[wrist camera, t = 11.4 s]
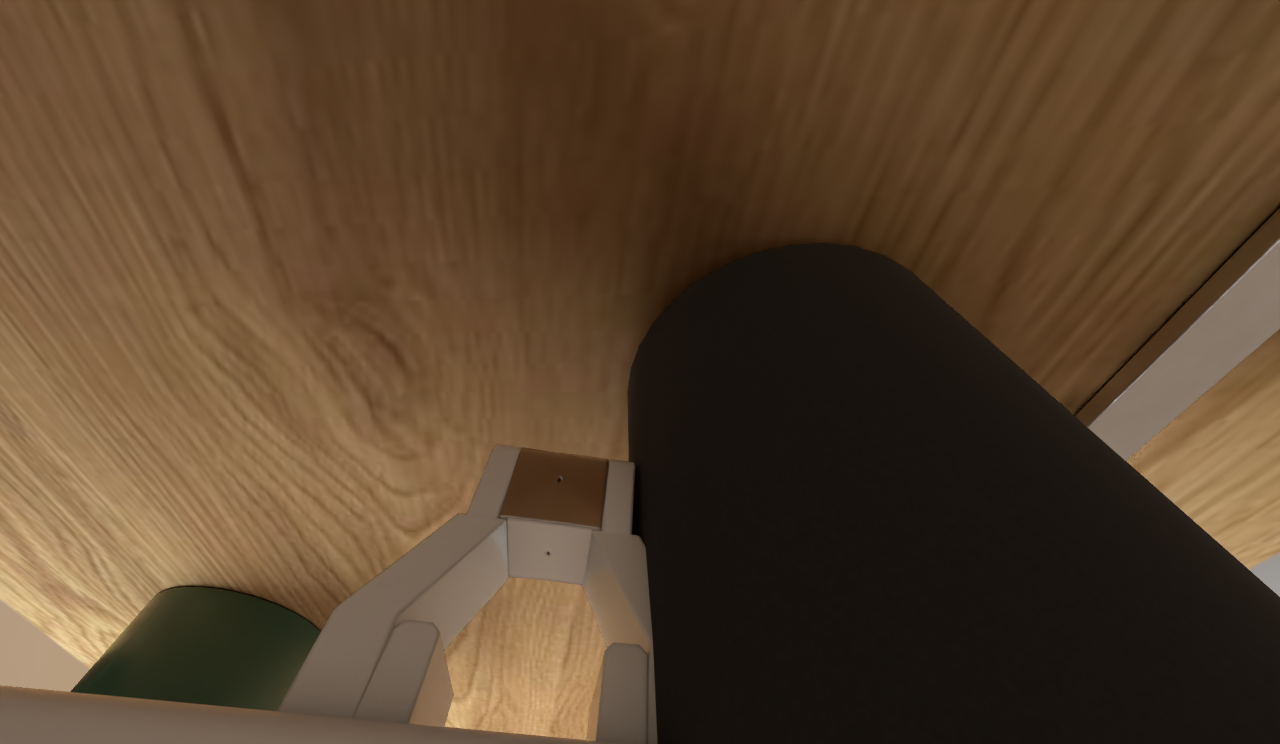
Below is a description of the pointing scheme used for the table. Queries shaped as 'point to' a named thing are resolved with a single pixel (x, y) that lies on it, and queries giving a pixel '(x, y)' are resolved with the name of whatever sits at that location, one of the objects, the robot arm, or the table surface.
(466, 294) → the table surface
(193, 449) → the table surface
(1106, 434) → the knife
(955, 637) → the mug
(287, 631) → the canister
